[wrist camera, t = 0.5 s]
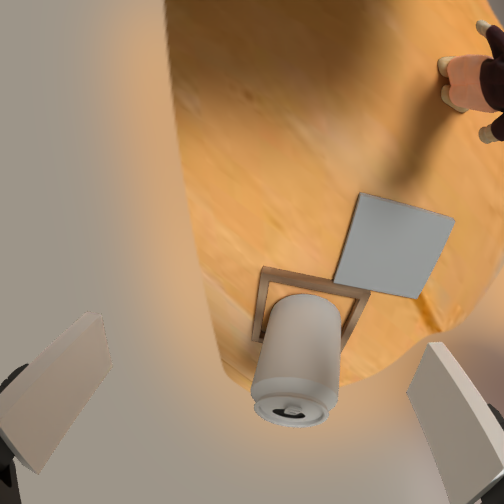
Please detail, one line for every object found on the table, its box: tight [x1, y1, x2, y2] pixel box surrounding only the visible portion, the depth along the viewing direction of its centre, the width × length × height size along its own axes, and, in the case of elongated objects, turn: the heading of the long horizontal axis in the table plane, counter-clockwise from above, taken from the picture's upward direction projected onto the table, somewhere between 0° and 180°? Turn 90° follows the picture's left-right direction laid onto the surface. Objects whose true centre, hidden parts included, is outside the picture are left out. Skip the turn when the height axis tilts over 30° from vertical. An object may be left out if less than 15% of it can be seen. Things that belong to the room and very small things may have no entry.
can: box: [251, 294, 341, 427], centre depth 26 cm, size 8×8×12 cm
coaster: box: [334, 192, 455, 299], centre depth 24 cm, size 9×9×1 cm
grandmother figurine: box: [438, 20, 504, 144], centre depth 9 cm, size 8×4×13 cm, turn 20°
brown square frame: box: [252, 266, 371, 354], centre depth 30 cm, size 11×11×1 cm
